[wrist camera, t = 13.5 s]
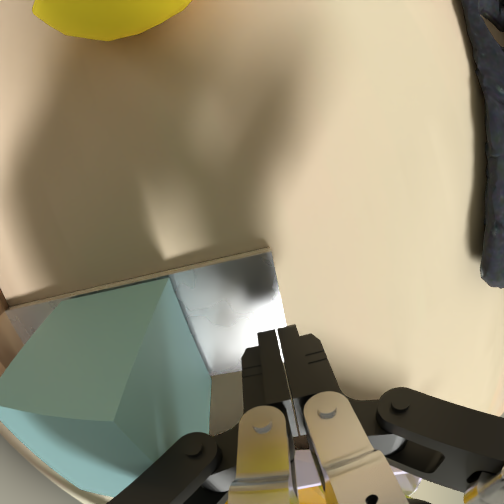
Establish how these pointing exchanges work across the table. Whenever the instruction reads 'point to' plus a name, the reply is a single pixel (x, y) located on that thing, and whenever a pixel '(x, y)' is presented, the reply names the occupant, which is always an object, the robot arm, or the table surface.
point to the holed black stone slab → (490, 128)
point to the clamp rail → (200, 305)
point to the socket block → (7, 338)
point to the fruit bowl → (310, 486)
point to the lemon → (106, 16)
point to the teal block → (107, 386)
